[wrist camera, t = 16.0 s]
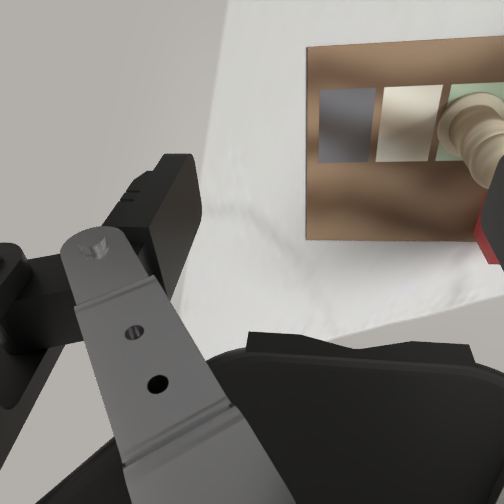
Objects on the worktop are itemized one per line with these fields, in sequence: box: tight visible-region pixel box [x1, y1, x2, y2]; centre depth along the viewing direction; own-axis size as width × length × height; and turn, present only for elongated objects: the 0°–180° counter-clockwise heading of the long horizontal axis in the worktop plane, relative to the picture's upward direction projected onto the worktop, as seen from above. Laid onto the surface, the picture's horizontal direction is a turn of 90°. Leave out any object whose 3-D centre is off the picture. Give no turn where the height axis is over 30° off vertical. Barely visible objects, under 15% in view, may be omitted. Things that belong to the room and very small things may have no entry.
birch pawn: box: [437, 92, 504, 189], centre depth 32 cm, size 6×6×10 cm
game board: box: [306, 36, 504, 242], centre depth 39 cm, size 20×22×1 cm
